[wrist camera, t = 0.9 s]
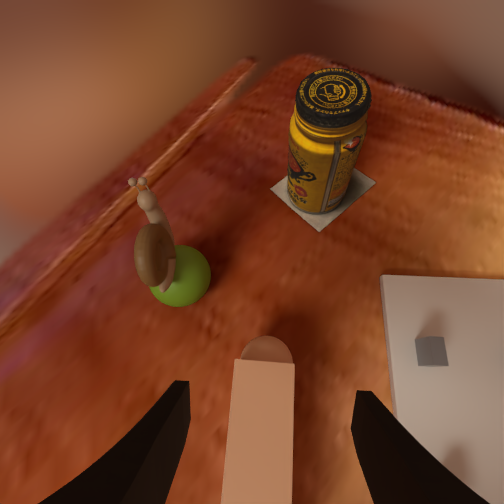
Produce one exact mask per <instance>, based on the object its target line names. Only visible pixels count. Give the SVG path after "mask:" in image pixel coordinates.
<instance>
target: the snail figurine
mask: <svg viewBox="0 0 504 504" xmlns="http://www.w3.org/2000/svg"><path fill="white" fill-rule="evenodd" d="M138 182H139V184H140V185H146V184H147V179H146V178H144V177H140V178H139V179H138ZM128 183H129V185H130V186H136V185H137V180H136V179H134V178H130V179H129V180H128ZM136 187H137V186H136ZM146 187H147V189H148V190H143V191H140V190H139V188H138V187H137V189H138V191H139V195H138V197H137V201H138V204H139V206H140V207H141V208H142V209H143V210H144V211H145V212H146V215H147V217H148V219H149V221H150V224H147V225H145V226H144V227H143V228H142V229H141V230H140V231H139V233H138V235H137V238H136V241H135V246H134V260H135V266H136V270H137V273H138V275H139V277H140V279H141V280H142V282H143V283H144V284H146V285H147V286H149V287H150V290H151V292H152V293H153V295H154V296H155V297H156V298H157V299H158V300H159V301H161V302H163V303H164V304H167V305H170V306H174V307H183V306H188V305H191V304H193V303H195V302H196V301H198V300H199V299H200V298H201V297H202V296H203V295H204V294H205V293H206V291H207V289H208V287H209V284H210V280H211V270H210V266H209V264H208V261H207V260H206V258H205V257H204V256H203V255H202V254H201V253H200V252H199V251H198V250H196V249H194V248H192V247H189V246H185V245H174V237H173V234H172V231H171V228H170V225H169V222H168V220H167V217H166V215H165V213H164V212H163V210H162V208H161V207H160V206H159V204H158V202H157V198H156V195H155V194H154V193H153V192H152V191H150V190H149V188H148V186H147V185H146Z"/></svg>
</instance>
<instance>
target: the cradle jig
mask: <svg viewBox="0 0 504 504" xmlns="http://www.w3.org/2000/svg"><path fill="white" fill-rule="evenodd" d="M379 278H380V288H381V298H382V308H383V317H384V327H385V337H386V347H387V356H388V366H389V376H390V386H391V396H392V405H393V415H394V417H395V418H396V419H397V420H398V421H399V422H400V423H401V424H402V425H403V426H404V427H405V428H406V430H407V431H408V432H409V433H410V434H411V435H412V436H413V437H414V438H415V439H416V440H417V441H418V442H419V443H420V444H421V445H422V446H423V447H424V448H425V449H426V450H427V451H429V452H430V453H431V454H432V455H433V456H434V457H435V458H436V459H437V460H438V461H439V462H440V463H441V464H442V465H444V466H445V467H446V468H447V469H448V470H449V471H450V472H452V473H453V474H454V475H455V476H456V477H457V478H459V479H460V480H461V481H462V482H463V483H464V484H466V485H467V486H468V487H469V488H471V489H472V490H473V491H474V492H476V493H477V494H478V495H479V496H481V497H482V498H483V499H485V500H486V501H487V502H489V503H490V504H504V279H478V278H453V277H428V276H402V275H381V276H380V277H379Z"/></svg>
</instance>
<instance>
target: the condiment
mask: <svg viewBox="0 0 504 504" xmlns="http://www.w3.org/2000/svg"><path fill="white" fill-rule="evenodd" d="M295 101H296V105H295V109H294V114H293V116H292V117H291V121H290V128H289V153H288V176H286V177H285V178H284V179H283V180H281V181H280V182H279V183H278V184H276V185H275V186H273V187H272V188H270V189H271V190H272V191H273V192H274V193H275V194H277V195H278V196H279V197H280V198H281V199H282V200H283V201H284V202H285V203H286V204H287V205H288V206H289V207H291V208H292V209H293V210H294V211H295V212H296V213H297V214H299V215H300V216H301V217H302V218H303V219H304V220H306V221H307V222H308V223H309V224H310V225H312V226H313V227H314V228H315V229H316V230H317V231H318V232H320V231H321V230H322V229H323V228H324V227H326V226H327V225H328V224H329V223H330V222H332V221H333V220H334V219H335V218H336V217H337V216H339V215H340V214H341V213H342V212H343V211H344V210H345V209H346V208H348V207H349V206H350V205H351V204H352V203H353V202H354V201H355V200H357V199H358V198H359V197H360V196H361V195H363V194H364V193H365V192H366V191H367V190H368V189H369V188H370V187H371V186H373V185H374V184H375V183H376V182H375V181H373V180H372V179H370V178H368V177H367V176H365V175H364V174H363V173H361V172H360V171H358V170H357V169H355V168H354V166H355V164H356V161H357V158H358V155H359V152H360V149H361V147H362V144H363V141H364V138H365V135H366V131H367V122H366V119H367V114H368V109H369V108H370V106H371V105H370V103H371V101H372V100H371V91H370V87H369V85H368V83H367V81H366V80H365V79H364V78H363V77H362V76H360V75H359V74H357V73H355V72H353V71H350V70H348V69H342V68H325V69H321V70H318V71H315V72H313V73H311V74H310V75H308V76H307V77H306V78H305V79H303V81H301V83H300V86H299V88H298V89H297V92H296V100H295Z"/></svg>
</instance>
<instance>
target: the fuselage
mask: <svg viewBox="0 0 504 504" xmlns="http://www.w3.org/2000/svg"><path fill="white" fill-rule="evenodd" d="M294 375H295V364H293V360H292V356H291V353H290V351H289V349H288V347H287V346H286V345H285V344H284V343H283V342H282V341H281V340H279V339H278V338H275V337H272V336H260V337H257V338H255V339H253V340H251V341H250V342H249V343H248V344H247V345H246V346H245V348H244V350H243V352H242V355H241V359H235V363H234V374H233V384H232V394H231V405H230V415H229V425H228V436H227V446H226V456H225V467H224V477H223V488H222V498H221V504H292V468H293V421H294Z"/></svg>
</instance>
